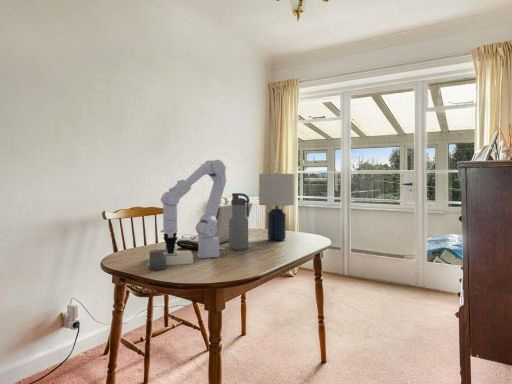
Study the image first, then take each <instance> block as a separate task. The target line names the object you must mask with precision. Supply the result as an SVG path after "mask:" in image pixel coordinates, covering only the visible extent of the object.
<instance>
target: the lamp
mask: <svg viewBox="0 0 512 384" xmlns="http://www.w3.org/2000/svg"><path fill="white" fill-rule="evenodd" d="M295 175H296V174H295V173H279V172H275V173H259V174H258V176H259V177H258V205H260V206H266V207H267V206H268V207H269V206H271V207H272V206H273V207H274V208H271V209H270V210H269V211H268V213H267V239H268V241H272V242H283V241H284V240H286V233H287V231H286V226H287V225H286V224H287V222H286V220H287V219H286V218H287V217H286V212H285V211H284V209H283V208H280V207H287V206H288V207H289V206H295V200H296V198H295V197H296V196H295V193H296V192H295V188H296V187H295V186H296V185H295V183H296V182H295V181H296V179H295V177H296V176H295Z"/></svg>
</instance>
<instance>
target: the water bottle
mask: <svg viewBox="0 0 512 384" xmlns="http://www.w3.org/2000/svg"><path fill="white" fill-rule="evenodd" d="M231 196H232V199H231V208H232V209H231V211H232V213H231V217H230V218H229V219H228V247H229V249H230V250H231V251H232V250H233V251H245V250H247V249H249V219H248V218H249V215H250V213H249V212H250V211H249V210H250V207H249V203H250V198H249V196H248V195H247V194H246V193H242V192H240V193H239V192H234V193H231ZM239 196H240V197H239ZM243 197H244V198H243Z"/></svg>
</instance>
